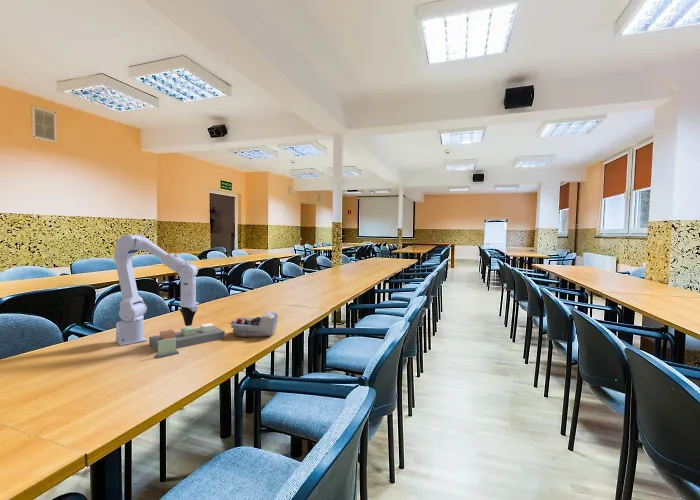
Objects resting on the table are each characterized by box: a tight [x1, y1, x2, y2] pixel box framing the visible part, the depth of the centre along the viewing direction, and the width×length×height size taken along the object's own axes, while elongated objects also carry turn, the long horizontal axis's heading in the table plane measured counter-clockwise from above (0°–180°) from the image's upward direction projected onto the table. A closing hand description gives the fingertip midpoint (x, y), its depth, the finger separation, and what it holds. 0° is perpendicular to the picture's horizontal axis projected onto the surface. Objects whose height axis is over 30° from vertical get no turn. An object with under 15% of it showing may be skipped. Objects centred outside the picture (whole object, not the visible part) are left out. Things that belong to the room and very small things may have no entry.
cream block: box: [199, 322, 216, 333], centre depth 148 cm, size 4×4×4 cm
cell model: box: [229, 309, 279, 338], centre depth 154 cm, size 13×11×20 cm
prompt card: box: [155, 338, 179, 359], centre depth 126 cm, size 7×3×6 cm, turn 135°
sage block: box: [180, 325, 197, 337], centre depth 142 cm, size 4×4×4 cm
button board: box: [148, 326, 226, 352], centre depth 142 cm, size 26×12×3 cm, turn 135°
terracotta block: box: [159, 329, 176, 340], centre depth 136 cm, size 4×4×4 cm
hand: (188, 325), depth 142 cm, fingers closed
